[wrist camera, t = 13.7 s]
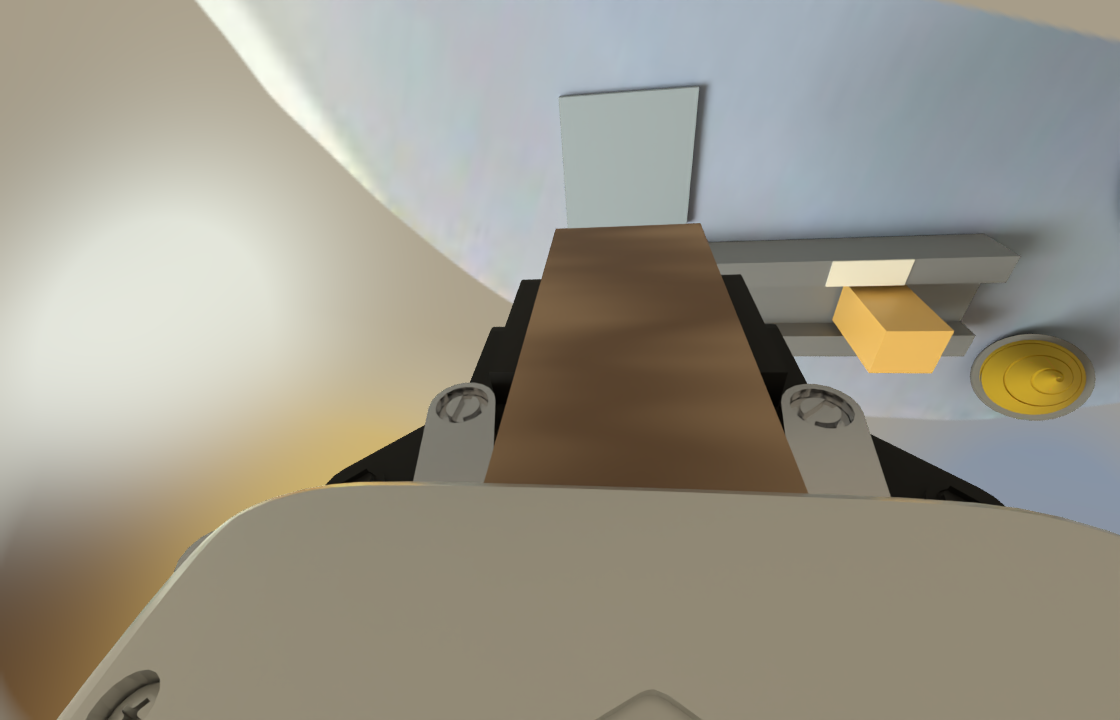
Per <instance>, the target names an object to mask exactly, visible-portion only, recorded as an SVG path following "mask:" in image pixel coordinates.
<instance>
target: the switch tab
mask: <svg viewBox="0 0 1120 720" xmlns="http://www.w3.org/2000/svg"><path fill="white" fill-rule="evenodd" d="M832 320H833V322H834V323H835V325H836V326H837V327H838V329H839V330H840V332H841V333H842V335H843V336H844V338H845V339H846V340H847V342H848V343H849V345H850V346H851V348H852V349H853V351H854V352H855V353H856V355H857V356H858V358H859V359H860V361H861V362H862V364H863V365H864V367H865V368H866V369H867V371H868V372H869V373H932V372H933V370H934V368H935V366H936V365H937V363H938V361H939V359H940V357H941V355H942V353H943V351H944V350H945V348H946V346H947V344H948V342H949V340H950V338H951V336H952V335H953V333H954V330H953V329H952V328H951V327H950V326H949V325H947V324H946V323H945V322H944V321H943V320H942V319H941V318H940V317H939V316H938V315H937V314H936V313H935V312H934V311H933V310H932V309H931V308H930V307H929V306H927V305H926V304H925V303H924V302H923V301H922V300H921V299H920V298H919V297H918V296H917V295H916V294H915V293H914V292H913V291H912V290H911V289H910V288H909V287H908V286H906V285H895V286H843V289H842V292H841V295H840V298H839V301H838V304H837V307H836V310H835V313H834V316H833V319H832Z"/></svg>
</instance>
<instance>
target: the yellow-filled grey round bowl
mask: <svg viewBox="0 0 1120 720" xmlns="http://www.w3.org/2000/svg"><path fill="white" fill-rule="evenodd" d="M1095 379H1096V378H1095V371H1094V368H1093V366H1092V363H1091V361H1090V360H1089V359H1088V357H1087V356H1086V355H1085V354H1084V353H1083V352H1082V351H1081V350H1080V349H1079V348H1077V347H1076V346H1074V345H1073V344H1071V343H1069V342H1067V341H1065V340H1062V339H1059V338H1057V337H1053V336H1048V335H1043V334H1023V335H1016V336H1012V337H1008V338H1004V339H1002V340H999V341H997V342H994V343H993V344H991V345H989V346H988V347H986V348H985V349H984V350H983V351H982V352H980V353H979V355H978V356H977V357H976V359H975V360H974V362H973V365H972V367H971V372H970V380H971V385H972V388H973V390H974V392H975V394H976V395H977V396H978V398H979V399H980V400H981V401H982V402H983V403H984V404H985V405H987V406H988V407H990V408H991V409H993V410H994V411H997V412H999V413H1001V414H1003V415H1006V416H1009V417H1013V418H1016V419H1022V420H1029V421H1032V420H1034V421H1036V420H1037V421H1038V420H1039V421H1040V420H1049V419H1054V418H1058V417H1061V416H1064V415H1067V414H1069V413H1071V412H1073V411H1075V410H1076V409H1078V408H1079V407H1080V406H1081V405H1083V404H1084V403H1085V402H1086V400H1087V399H1088V398H1089V397H1090V395H1091V393H1092V391H1093V389H1094V386H1095Z"/></svg>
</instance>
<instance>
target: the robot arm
mask: <svg viewBox="0 0 1120 720" xmlns="http://www.w3.org/2000/svg"><path fill="white" fill-rule="evenodd" d="M721 276H722V279H723V281H724V284H725V286H726V289H727V291H728V294H729V296H730V299H731V301H732V304H733V306H734V309H735V311H736V314H737V316H738V319H739V321H740V324H741V326H742V329H743V331H744V334H745V336H746V339H747V341H748V344H749V346H750V349H751V351H752V353H753V356H754V358H755V361H756V363H757V366H758V368H759V371H760V373H761V376H762V378H763V381H764V383H765V386H766V388H767V391H768V393H769V396H770V398H771V401H772V403H773V406H774V408H775V411H776V413H777V416H778V418H779V421H780V423H781V426H782V428H783V431H784V433H785V436H786V438H787V441H788V443H789V446H790V448H791V451H792V453H793V456H794V458H795V461H796V463H797V466H798V468H799V471H800V473H801V476H802V478H803V481H804V483H805V486H806V488H807V491H808V493H809V494H808V493H781V492H755V491H728V490H700V489H670V488H640V487H609V486H577V485H541V484H505V483H484V480H485V476H486V473H487V469H488V466H489V462H490V459H491V455H492V452H493V448H494V445H495V441H496V438H497V434H498V431H499V427H500V424H501V420H502V417H503V413H504V409H505V406H506V402H507V399H508V395H509V392H510V388H511V385H512V381H513V378H514V374H515V371H516V367H517V364H518V360H519V357H520V353H521V350H522V346H523V343H524V339H525V336H526V332H527V328H528V325H529V321H530V318H531V314H532V311H533V307H534V304H535V300H536V297H537V293H538V290H539V286H540V283H541V279H535V280H522V281H521V283H520V286H519V289H518V292H517V295H516V297H515V300H514V303H513V306H512V309H511V312H510V314H509V317H508V320H507V323H506V326H505V327H493V328H492V329H491V331H490V333H489V336H488V338H487V341H486V344H485V346H484V349H483V351H482V354H481V356H480V359H479V361H478V363H477V366H476V368H475V371H474V373H473V376H472V378H471V381H470V383H462V384H457V385H454V386H451V387H449V388H446V389H445V390H443V391H442V392H441V393H439V394H437V396H436V397H435V398H434V399H433V400H432V402H431V404H430V406H429V409H428V414H427V418H426V423H425V425H424V426H422V427H421V428H418V429H417V430H415V431H413V432H411V433H409V434H408V435H406V436H404V437H402V438H400V439H398V440H397V441H395V442H393V443H391V444H389V445H388V446H385V447H384V448H382V449H380V450H378V451H376V452H375V453H373V454H371V455H369V456H367V457H365V458H363V459H362V460H360V461H358V462H356V463H354V464H353V465H351V466H349V467H347V468H345V469H344V470H342V471H341V472H340V473H338V474H336V475H335V476H334V477H333V478H332V479H331V480H330V481H329V482H328V483H327V484H326V485H325V486H319V487H313V488H308V489H303V490H299V491H295V492H292V493H288V494H285V495H281V496H278V497H274V498H271V499H269V500H266V501H264V502H261V503H258V504H256V505H254V506H252V507H249V508H248V509H245V510H243V511H242V512H240V513H238V514H237V515H235V516H233V517H232V518H230V519H228V520H227V521H226V522H225V523H223V524H222V525H221V526H220V527H218V528H217V529H216V530H214V531H212V532H210V533H208V534H207V535H205V536H203V537H201V538H200V539H199V540H198V541H196V542H195V543H194V544H192V545H191V546H190V547H189V548H188V549H187V550H186V551H185V553H184V554H183V555H182V556H181V558H180V559H179V561H178V563H177V566H176V568H175V570H174V574H173V575H172V576H171V577H170V578H169V579H168V580H167V582H166V583H165V584H164V585H163V586H162V588H161V589H160V590H159V591H158V592H157V594H156V595H155V596H154V597H153V598H152V599H151V601H150V602H149V603H148V604H147V605H146V607H145V608H144V609H143V610H142V611H141V613H140V614H139V615H138V617H137V618H136V619H135V620H134V621H133V623H132V624H131V625H130V626H129V628H128V629H127V630H126V631H125V633H124V634H123V635H122V636H121V638H120V639H119V640H118V641H117V643H116V644H115V645H114V646H113V648H112V649H111V650H110V652H109V653H108V654H107V655H106V656H105V658H104V659H103V660H102V661H101V663H100V664H99V665H98V667H97V668H96V669H95V670H94V672H93V673H92V674H91V675H90V677H89V678H88V679H87V681H86V682H85V683H84V685H83V686H82V687H81V689H80V690H79V691H78V692H77V694H76V695H75V697H74V698H73V699H72V701H71V702H70V703H69V704H68V706H67V707H66V708H65V709H64V711H63V712H62V713H61V715H60V716H59V717H58V719H57V720H1120V535H1118V534H1115V533H1112V532H1110V531H1107V530H1103V529H1100V528H1097V527H1093V526H1090V525H1086V524H1083V523H1080V522H1076V521H1073V520H1069V519H1065V518H1063V517H1058V516H1053V515H1048V514H1044V513H1039V512H1034V511H1029V510H1024V509H1019V508H1012V507H1006V506H1004V505H1003V504H1002V503H1000V501H998V500H997V499H996V498H995V497H994V496H992V495H990V494H988V493H987V492H985V491H983V490H982V489H980V488H978V487H976V486H974V485H972V484H970V483H968V482H966V481H964V480H962V479H960V478H958V477H956V476H954V475H952V474H950V473H948V472H946V471H944V470H942V469H940V468H938V467H936V466H934V465H932V464H930V463H928V462H926V461H924V460H922V459H920V458H917V457H916V456H914V455H912V454H910V453H908V452H906V451H904V450H902V449H900V448H897V447H896V446H893V445H892V444H890V443H888V442H885V441H883V440H881V439H879V438H877V437H875V436H873V435H871V434H870V432H869V429H868V426H867V422H866V419H865V416H864V413H863V411H862V410H861V408H860V406H859V405H858V404H857V403H856V402H855V401H854V400H853V399H852V398H851V397H849V396H848V395H846V394H844V393H843V392H841V391H839V390H836V389H833V388H831V387H828V386H823V385H818V384H807V382H806V381H805V379H804V377H803V375H802V373H801V371H800V369H799V367H798V365H797V363H796V361H795V359H794V357H793V355H792V353H791V351H790V349H789V347H788V345H787V344H786V342H785V340H784V338H783V336H782V334H781V332H780V330H779V328H778V327H777V325H776V324H765V323H764V321H763V319H762V317H761V315H760V313H759V310H758V308H757V306H756V304H755V302H754V300H753V298H752V296H751V294H750V292H749V289H748V287H747V285H746V283H745V281H744V279H743V277H742V275H741V274H732V275H721Z"/></svg>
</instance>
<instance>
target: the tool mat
mask: <svg viewBox="0 0 1120 720" xmlns="http://www.w3.org/2000/svg"><path fill="white" fill-rule="evenodd" d="M698 94H699V87H698V86H691V87H678V88H665V89H651V90H638V91H625V92H612V93H598V94H585V95H572V96H560V97H559V110H560V124H561V139H562V153H563V167H564V182H565V196H566V210H567V224H568V228H591V227H617V226H642V225H668V224H687V214H688V203H689V192H690V181H691V170H692V160H693V149H694V138H695V127H696V116H697V105H698Z"/></svg>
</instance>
